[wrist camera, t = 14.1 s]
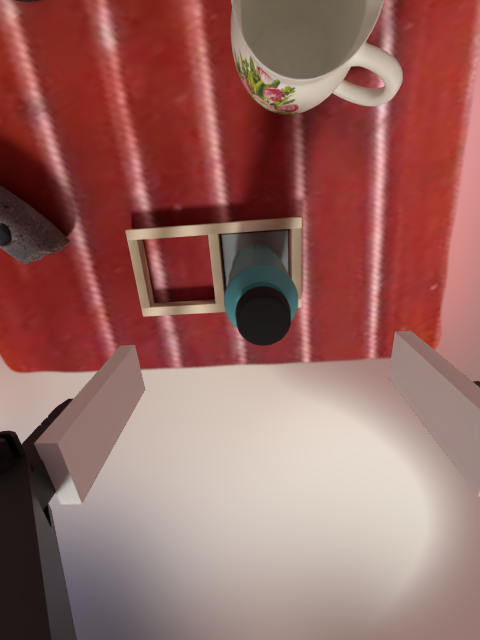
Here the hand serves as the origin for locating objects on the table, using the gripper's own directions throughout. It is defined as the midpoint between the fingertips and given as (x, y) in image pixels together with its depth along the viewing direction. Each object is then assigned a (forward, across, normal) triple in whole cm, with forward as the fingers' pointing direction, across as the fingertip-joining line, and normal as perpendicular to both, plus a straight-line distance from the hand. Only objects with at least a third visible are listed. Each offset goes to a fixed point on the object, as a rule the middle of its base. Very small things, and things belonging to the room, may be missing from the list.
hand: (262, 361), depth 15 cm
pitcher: (+27, +5, +20) cm, 34 cm away
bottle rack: (+26, -5, 0) cm, 27 cm away
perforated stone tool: (+27, -30, +8) cm, 41 cm away
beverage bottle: (+26, 0, 0) cm, 26 cm away
